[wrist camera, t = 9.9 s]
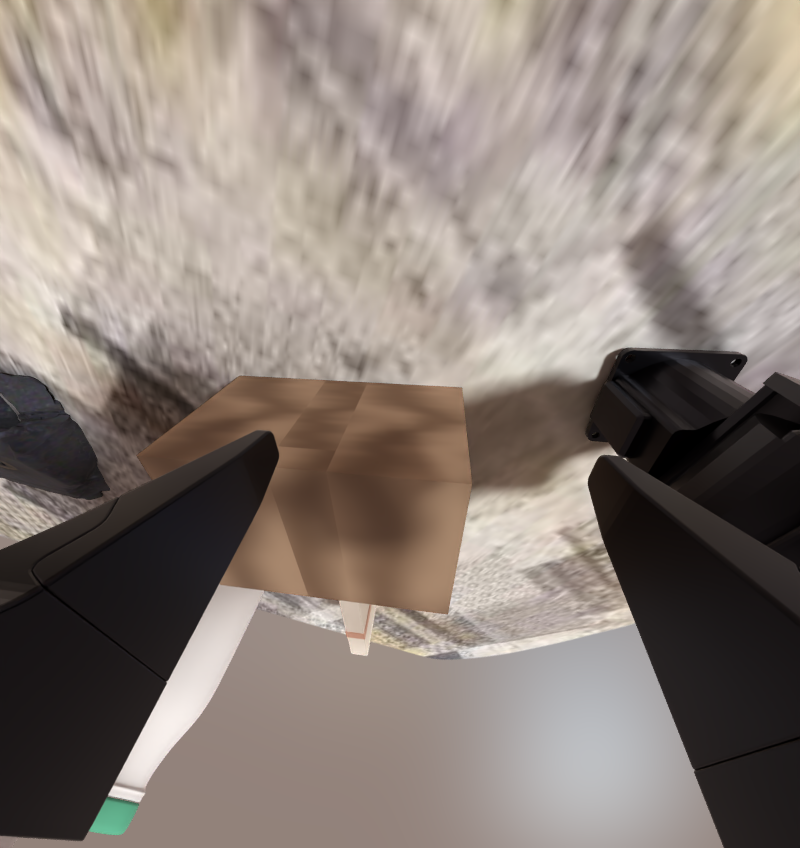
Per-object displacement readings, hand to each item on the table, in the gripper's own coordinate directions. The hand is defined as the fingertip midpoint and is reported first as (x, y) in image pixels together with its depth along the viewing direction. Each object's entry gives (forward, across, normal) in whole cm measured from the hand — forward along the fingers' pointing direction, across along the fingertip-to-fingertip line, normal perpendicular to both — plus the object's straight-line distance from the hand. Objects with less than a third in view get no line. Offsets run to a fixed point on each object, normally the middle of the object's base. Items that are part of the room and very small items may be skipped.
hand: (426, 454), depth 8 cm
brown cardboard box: (+12, +6, +10) cm, 17 cm away
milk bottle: (+12, +23, +32) cm, 41 cm away
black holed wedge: (+13, +42, +11) cm, 45 cm away
